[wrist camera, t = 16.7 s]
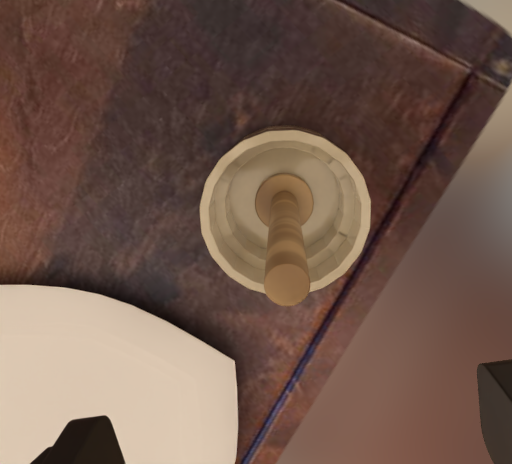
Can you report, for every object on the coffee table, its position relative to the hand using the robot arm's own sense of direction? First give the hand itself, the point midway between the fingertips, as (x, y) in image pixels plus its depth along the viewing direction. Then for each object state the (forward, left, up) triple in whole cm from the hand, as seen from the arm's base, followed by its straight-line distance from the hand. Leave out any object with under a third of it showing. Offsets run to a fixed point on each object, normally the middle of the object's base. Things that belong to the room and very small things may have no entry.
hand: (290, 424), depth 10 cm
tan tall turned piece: (0, 0, -23) cm, 23 cm away
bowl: (0, 0, -24) cm, 24 cm away
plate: (+26, -3, -24) cm, 35 cm away
